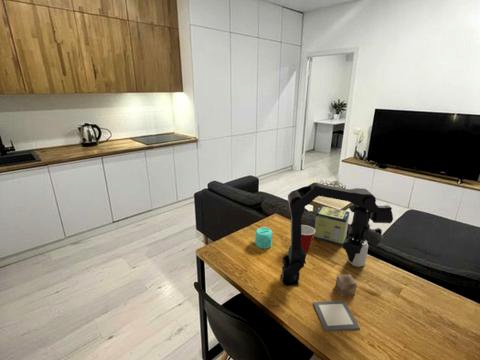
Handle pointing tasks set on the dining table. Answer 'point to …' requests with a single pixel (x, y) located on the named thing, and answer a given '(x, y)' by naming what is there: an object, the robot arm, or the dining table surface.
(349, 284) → the cube
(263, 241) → the turquoise cylinder
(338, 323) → the coaster
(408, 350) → the dining table surface
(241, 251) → the dining table surface
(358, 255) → the can
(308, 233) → the plastic cup
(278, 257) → the dining table surface
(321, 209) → the protein box
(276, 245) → the dining table surface
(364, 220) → the robot arm
